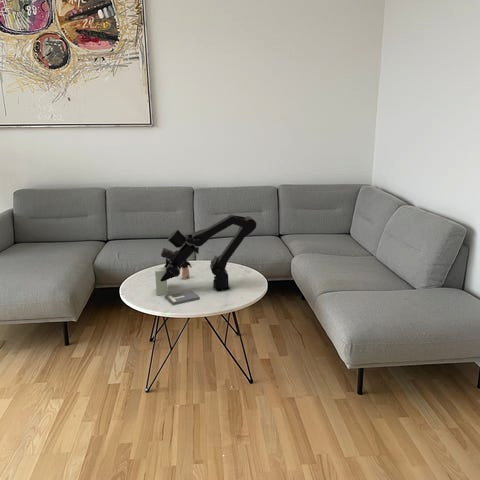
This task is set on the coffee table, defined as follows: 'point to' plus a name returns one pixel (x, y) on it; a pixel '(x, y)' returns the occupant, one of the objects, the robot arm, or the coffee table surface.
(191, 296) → the board
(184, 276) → the grandmother figurine
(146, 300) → the coffee table surface
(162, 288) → the sage block
